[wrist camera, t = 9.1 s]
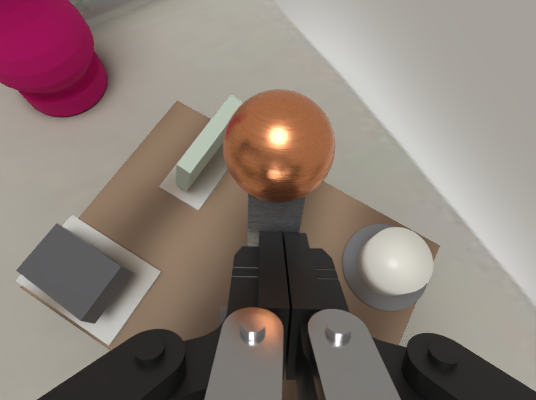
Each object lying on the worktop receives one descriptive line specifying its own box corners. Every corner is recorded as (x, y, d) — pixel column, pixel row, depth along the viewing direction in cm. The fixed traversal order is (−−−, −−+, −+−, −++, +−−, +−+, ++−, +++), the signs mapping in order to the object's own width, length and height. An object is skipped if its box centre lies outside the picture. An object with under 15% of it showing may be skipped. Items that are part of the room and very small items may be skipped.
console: (45, 289, 22) (-15, 279, 17) (181, 122, 27) (165, 75, 22) (321, 479, 20) (346, 533, 15) (419, 255, 24) (463, 237, 19)
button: (346, 276, 21) (356, 270, 18) (371, 226, 22) (383, 215, 20) (401, 308, 20) (418, 306, 18) (424, 255, 21) (442, 247, 19)
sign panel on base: (175, 184, 21) (176, 164, 17) (220, 124, 23) (230, 94, 19) (186, 191, 21) (190, 173, 17) (231, 131, 23) (243, 102, 19)
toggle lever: (292, 362, 17) (356, 137, 7) (231, 361, 17) (214, 131, 7) (289, 305, 19) (336, 71, 9) (235, 304, 19) (225, 66, 9)
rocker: (33, 275, 19) (16, 270, 18) (70, 231, 20) (56, 223, 19) (95, 323, 17) (80, 320, 16) (132, 272, 18) (121, 266, 17)
